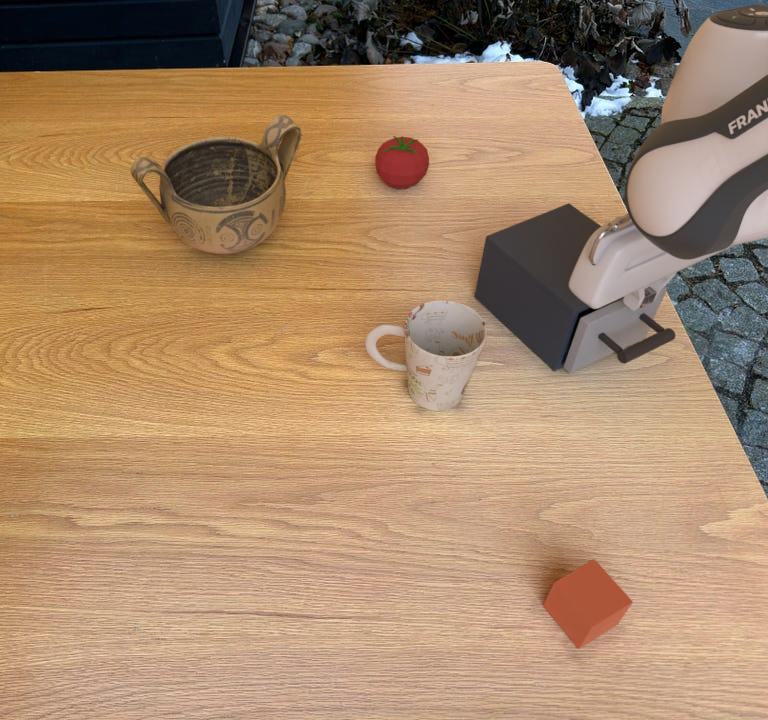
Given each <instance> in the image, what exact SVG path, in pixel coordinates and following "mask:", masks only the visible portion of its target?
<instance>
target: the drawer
mask: <svg viewBox="0 0 768 720" xmlns="http://www.w3.org/2000/svg"><path fill="white" fill-rule="evenodd" d="M667 290H668V286H667V285H666V286H665V287H664V288H663V289H662V290H661V291H660V293H659V295H658V298H657V300H656V301H654V302H652V303H650V304H648V305H645V306H643V307H641V308H639V309H637V310H635V311H633V310H631V309H630V308H629V307H627V306H626V305H625V304H624V302H623V299H624V297H622V298H620V299H618V300H616V301H613V302H611V303H609V304H607V305H605V306H603V307H601V308H598V309H593V308H588V309H586V310H584V311H582V312H580V313H578V316H577V319H576V322H575V325H574V328H573V331H572V333H571V336H570V339H569V342H568V345H567V348H566V351H565V353H567V352H568V355H567V358H566V361H565V364H564V367H563V369H564V370H566V372H568V373H569V374H573V373H575V372H577V371H580V370H581V369H584V368H585V367H587V366H590V365H592V364H594V363H596V362H598V361H600V360H602V359H605V358H606V357H608V356H610V355H612V354H616V359H617V361H618V362H619V363H621V364H625V365H626V364H628V363H630V362H632V361H634V360H636V359H637V358H640V357H642V356H644V355H646V354H648V353H649V352H651V351H654V350H656V349H658V348H660V347H663V345H666V344H668V343H670V342H672V341H674V340H675V339H676V332H675V331H674V330H673V328H671V327H667V328H664V327H663V326H662V325H661V324H659V323H658V322H656V321H655V317H656V315H657V312H658V310H659V308H660V306H661V304H662V301H663V299H664V297H665V295H666V292H667ZM650 329H652V330H653V331H654V332H656V333H655V334H652V335H650V336H648V337H647V335H648V332H649V330H650Z"/></svg>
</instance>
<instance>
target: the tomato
mask: <svg viewBox="0 0 768 720" xmlns="http://www.w3.org/2000/svg"><path fill="white" fill-rule="evenodd" d="M374 165H375V171H376V172H375V173H376V174H377V177H379V178H380V179H381V180H382V182H383V183H385V184H386V185H387V186H388V187H391V188H395V189H409V188H411V187H413V186H415V185H417V184H418V183H419V182H421V181H422V180H423V179H424V177H425V176H426V175H427V173H428V170H429V168H430V157H429V152H428V149H427V147H426V146H425V145H424V144H423V143H422V142H420V140H418V139H416V138H413V137H408V136H403V135H402V136H395V135H393V138H390V139H388V140H386V141H385V142H383V143H382V144H381V145H380V146H379V147H378V149H377V151H376V154H375V156H374Z"/></svg>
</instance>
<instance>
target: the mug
mask: <svg viewBox="0 0 768 720" xmlns="http://www.w3.org/2000/svg"><path fill="white" fill-rule="evenodd" d="M387 335H392V336H397V337H401V338H404V346H405V347H404V348H405V359H406V360H405V362H406V363H405V364H404V363H399V362H394V361H392V360H388V358H386V357H384V356H383V355H382V354H381V352H380V351H379V349H378V347H377V342H378V340H380V338H382V337H383V336H387ZM487 336H488V328H487V325H486V322H485V321H484V319H483V317H482V316H481V315H480V314H479V313H478V312H477V311H475V310H474V309H472V307H470V306H467V305H466V304H463V303H461V302H457V301H452V300H443V299H442V300H430V301H427V302H424V303H421V304H419V305H417V306H416V307H414V308H413V309H412V310H411V311H410V312H409V314H407V316H406V318H405V321H404V326H403V325H396V324H387V323H386V324H385V323H383V324H379V325H377V326H375V327H374V328H372V329H371V330H370V331H369V332H368V333H367V335H366V337H365V340H364V347H365V350H366V352H367V353H368V355H369V356H370V357H371V358H372V359H373V361H375V362H376V363H378V364H379V365H380V366H382V367H384V368H386V369H387V370H388V369H389V370H394V371H399V372H406V376H407V377H406V378H407V388H408V394H409V396H410V398H411V400H412V401H413V402H414V403H415V404H416V405H418V406H419V407H420V408H423V409H425V410H428V411H433V412H443V411H448V410H450V409H451V410H452V409H453V408H454V407H456V406H457V405H458V404H460V402H461V400H462V398H463V396H464V395H465V391H466V389H467V387H468V384H469V382H470V380H471V377H472V375H473V374H474V370H475V368H476V366H477V363H478V362H479V359H480V356H481V353H482V352H483V349H484V347H485V344H486V341H487Z"/></svg>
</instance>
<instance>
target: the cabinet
mask: <svg viewBox="0 0 768 720" xmlns="http://www.w3.org/2000/svg"><path fill="white" fill-rule="evenodd" d="M600 227H602V225H600V224H599V223H597V222H596V221H594V220H593V219H592V218H591V217H589V216H588V215H587V214H585V213H584V212H583V211H581V210H579V209H578V208H577V207H575V206H574V205H572V204H571V203H566V204H563V205H561V206H559V207H556V208H553V209H550V210H549V211H546V212H543V213H541V214H538V215H536V216H533V217H531V218H528V219H526V220H524V221H520V222H518V223H515V224H513V225H511V226H508V227H505V228H503V229H500V230H498V231H495V232H493V233H490V234H488V235H486V236H485V240H484V245H483V250H482V255H481V260H480V265H479V270H478V275H477V281H476V285H475V289H474V290H475V291H474V296H473V297H474V298H475V300H477V302H479V303H480V304H481V305H482V306H483V307H484V308H485V309H486V310H487V311H488V312H489V313H490V314H492V315H493V316H494V317H495V318H496V319H497V320H498V321H499V322H500V323H502V325H503V326H504V327H506V328H507V329H508V330H509V331H510V332H511V333H512V334H513V335H514V336H515V337H517V339H518V340H519V341H521V343H522V344H524V345H525V346H526V347H527V348H528V349H529V350H530V351H531V352H532V353H533V354H534V355H535V356H537V358H539V359H540V360H541V361H542V362H543V363H544V364H545V365H546V366H548V368H550V369H551V371H553V372H555V371H556V372H557V371H558V370H560V369H562V368H564V364H565V361H566V358H567V355H568V352H567V353H565V351H566V348H567V345H568V342H569V339H570V336H571V333H572V331H573V328H574V325H575V322H576V319H577V316H578V313H580V312H582V311H584V310H586V309H588V308H591V307H589V306H588V305H586V304H585V303H584V302H582V301H581V300H580V299H579V298H578V297H577V296H575V295H574V294H573V292H572V291H571V290H570V288H569V280H570V277H571V275H572V272H573V270H574V268H575V265H576V263H577V261H578V259H579V256H580V254H581V252H582V250H583V248H584V246H585V244H586V243H587V241H588V239H589V238H590V237H591V235H592V234H593V233H594V232H595V231H596V230H597V229H599V228H600Z"/></svg>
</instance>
